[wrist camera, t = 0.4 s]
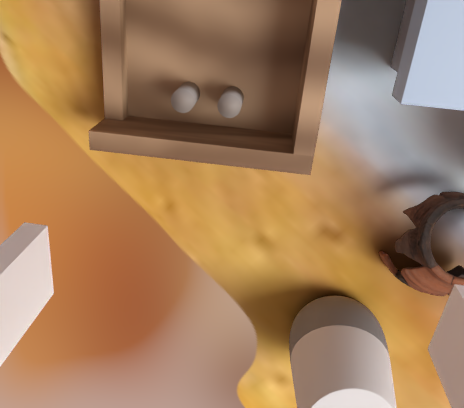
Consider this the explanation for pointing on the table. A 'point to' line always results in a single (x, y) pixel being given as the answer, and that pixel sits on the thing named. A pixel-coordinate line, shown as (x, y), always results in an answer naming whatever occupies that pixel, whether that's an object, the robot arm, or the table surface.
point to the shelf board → (433, 56)
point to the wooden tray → (216, 80)
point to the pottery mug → (426, 247)
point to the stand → (402, 34)
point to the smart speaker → (340, 356)
